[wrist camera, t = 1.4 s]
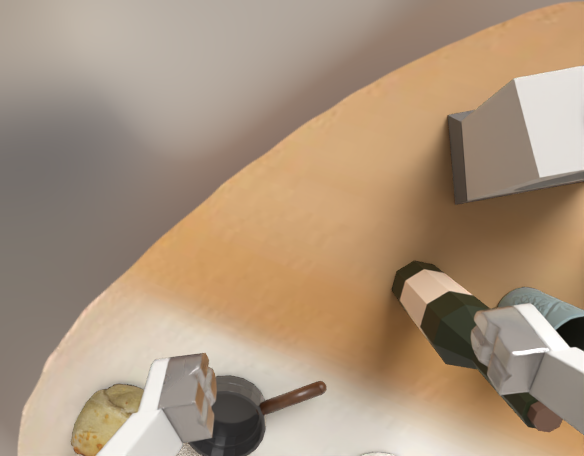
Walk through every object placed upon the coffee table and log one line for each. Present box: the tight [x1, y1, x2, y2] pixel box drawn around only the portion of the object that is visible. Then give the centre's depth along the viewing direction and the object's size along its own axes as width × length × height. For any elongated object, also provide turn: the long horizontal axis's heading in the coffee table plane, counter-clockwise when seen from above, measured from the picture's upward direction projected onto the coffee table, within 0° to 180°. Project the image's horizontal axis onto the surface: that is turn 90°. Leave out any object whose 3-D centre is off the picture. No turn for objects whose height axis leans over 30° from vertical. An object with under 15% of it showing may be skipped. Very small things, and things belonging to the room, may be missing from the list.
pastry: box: [71, 384, 144, 456], centre depth 59 cm, size 14×12×8 cm
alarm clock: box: [448, 66, 584, 205], centre depth 45 cm, size 20×16×20 cm
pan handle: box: [256, 381, 326, 415], centre depth 59 cm, size 12×2×2 cm, turn 112°
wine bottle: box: [392, 261, 563, 432], centre depth 45 cm, size 8×8×30 cm
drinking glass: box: [498, 287, 584, 351], centre depth 55 cm, size 10×10×12 cm
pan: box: [188, 376, 266, 456], centre depth 61 cm, size 13×13×4 cm
